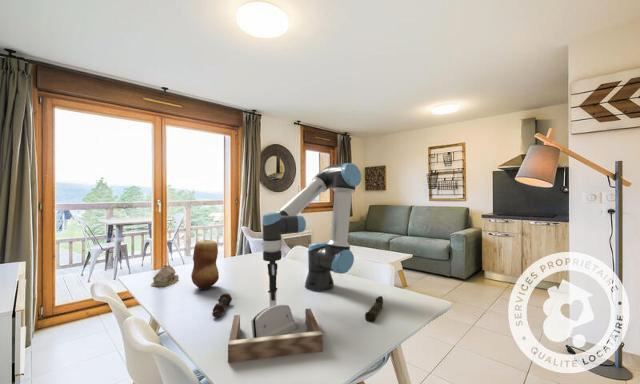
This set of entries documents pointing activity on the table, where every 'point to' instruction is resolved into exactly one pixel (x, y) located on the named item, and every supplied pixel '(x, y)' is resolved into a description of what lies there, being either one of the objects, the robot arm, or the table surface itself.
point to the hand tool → (374, 310)
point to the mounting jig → (275, 342)
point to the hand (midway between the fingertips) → (273, 307)
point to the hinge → (273, 322)
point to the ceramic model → (165, 276)
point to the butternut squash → (205, 264)
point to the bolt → (221, 305)
